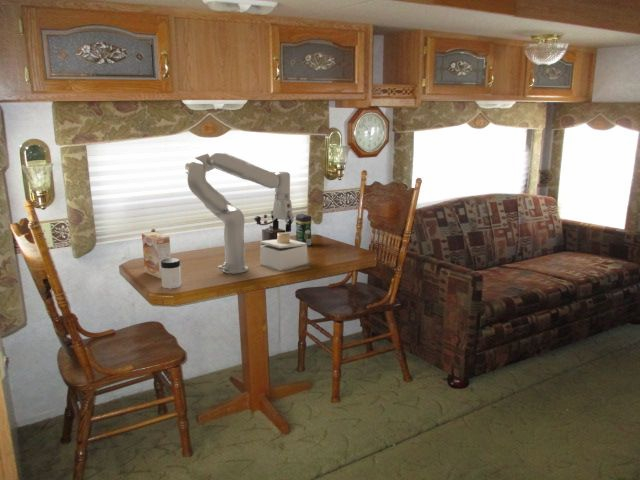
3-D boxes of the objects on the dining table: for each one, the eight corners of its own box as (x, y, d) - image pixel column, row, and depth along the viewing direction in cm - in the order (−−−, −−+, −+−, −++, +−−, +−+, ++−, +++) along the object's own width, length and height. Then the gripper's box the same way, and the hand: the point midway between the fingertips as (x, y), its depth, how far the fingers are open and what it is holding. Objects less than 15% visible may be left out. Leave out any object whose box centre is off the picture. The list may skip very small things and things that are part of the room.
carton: (280, 271, 266) (280, 251, 263) (260, 264, 277) (259, 246, 275) (307, 264, 278) (307, 245, 276) (286, 258, 289) (286, 240, 287)
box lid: (280, 248, 263) (280, 245, 263) (260, 243, 274) (260, 240, 274) (307, 245, 276) (308, 243, 276) (287, 240, 287) (287, 238, 287)
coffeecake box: (144, 272, 265) (141, 233, 261) (157, 269, 270) (154, 231, 265) (159, 278, 255) (156, 238, 250) (172, 275, 260) (170, 236, 255)
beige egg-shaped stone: (282, 243, 270) (283, 234, 270) (274, 241, 275) (274, 233, 274) (292, 242, 275) (292, 234, 274) (284, 240, 279) (284, 232, 278)
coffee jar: (293, 244, 320) (293, 213, 316) (304, 242, 325) (304, 212, 321) (302, 247, 313) (302, 216, 308) (313, 245, 317) (313, 214, 313)
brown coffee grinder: (276, 242, 326) (275, 213, 322) (286, 245, 318) (285, 215, 314) (253, 246, 317) (252, 216, 313) (263, 249, 309) (262, 218, 305)
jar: (165, 290, 238) (163, 264, 235) (159, 285, 244) (157, 260, 242) (184, 286, 243) (183, 260, 240) (178, 282, 249) (176, 257, 247)
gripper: (299, 198, 266) (298, 232, 270) (276, 194, 278) (276, 226, 282) (288, 199, 261) (287, 233, 264) (265, 195, 273) (265, 228, 276)
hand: (282, 230), depth 273 cm, fingers open, 9 cm apart
